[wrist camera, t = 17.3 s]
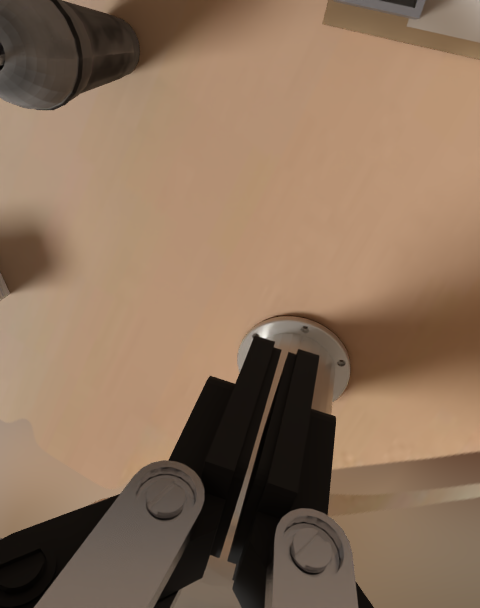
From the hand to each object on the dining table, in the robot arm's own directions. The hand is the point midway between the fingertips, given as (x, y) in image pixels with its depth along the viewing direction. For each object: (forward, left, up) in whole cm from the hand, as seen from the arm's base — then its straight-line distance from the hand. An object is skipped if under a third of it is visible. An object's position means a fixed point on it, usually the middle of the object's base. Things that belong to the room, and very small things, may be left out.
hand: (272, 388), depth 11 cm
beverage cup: (+3, +21, -32) cm, 39 cm away
